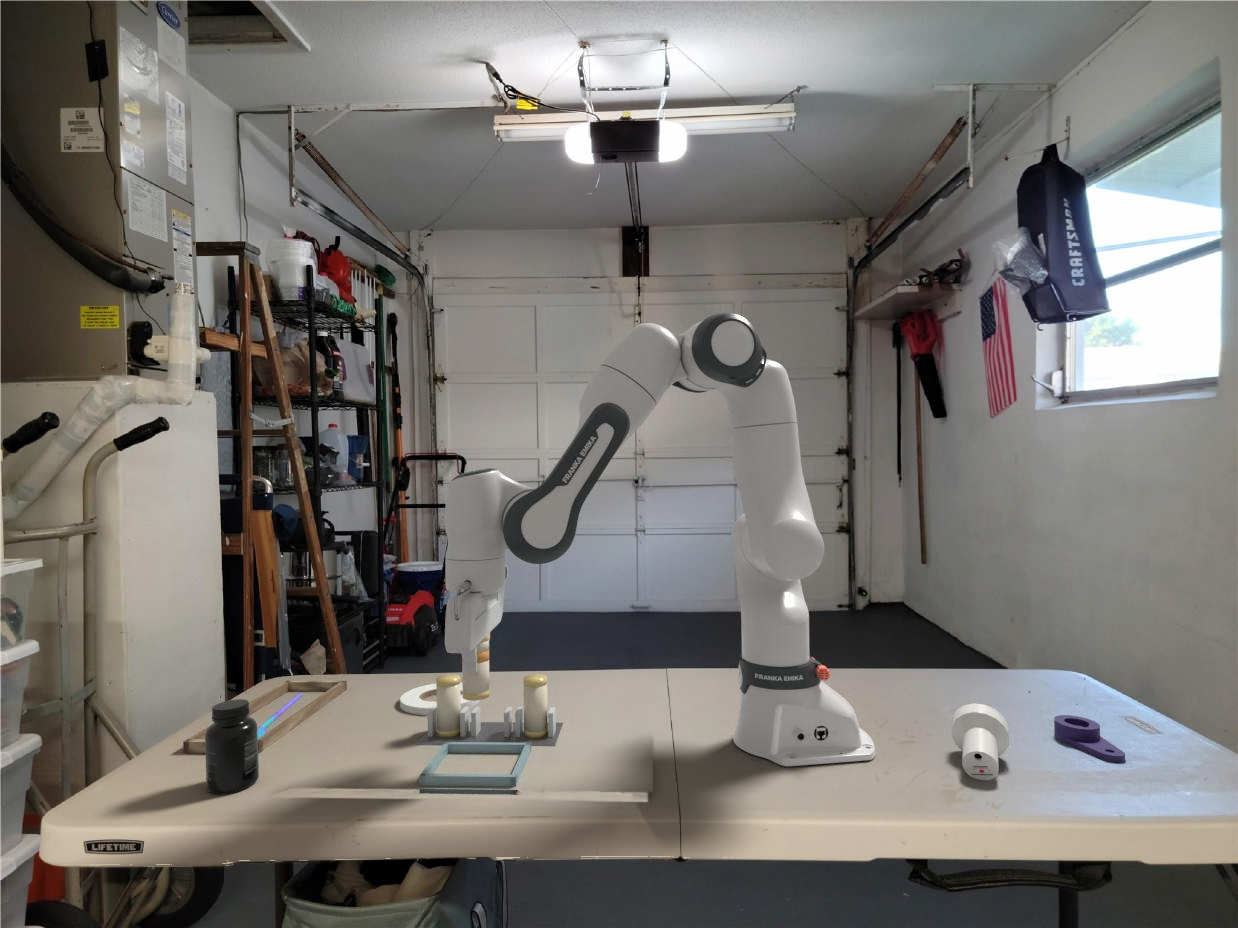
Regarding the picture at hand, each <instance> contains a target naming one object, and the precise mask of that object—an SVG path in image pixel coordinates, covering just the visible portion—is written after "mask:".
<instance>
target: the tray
mask: <svg viewBox="0 0 1238 928" xmlns="http://www.w3.org/2000/svg"><path fill="white" fill-rule="evenodd" d="M531 752H532V746H531V743H503V742H445V743H444V744H443V745H441V747H440V748H439V749H438V751H437V752H436V754H435V755H434V756H433V757H432V758H431V759H430V761H429V762H428V764H427V765H426V767H424V769H423V770H422V771H421V773H420V774H419V776H418V778H419V779H418V780H419V781H418V782H419V783H418V784H419V786H431V787H432V786H433V787H435V786H440V787H441V786H442V787H444V786H445V787H446V786H447V787H455V786H456V787H515V788H516V787H517V785H518V783H519V780H520V778H521V775H522V774H523V771H524V769H525V767H526V765H527V762H528V760H529V757H530V755H531ZM449 753H455V754H456V753H457V754H458V753H460V754H463V753H467V754H473V753H474V754H475V753H476V754H477V753H478V754H520V755H519V758H518V759H517V762H516V764H515V766H514V768H513V770H512V772H511V774H508V773H507V774H506V773H505V774H504V773H502V774H501V773H435V772H436V771H437V770H438V769H439V766H440V765H441V763H443V761H444V760H445V758H446V757H447V755H448V754H449ZM518 791H519V790H518V789H485V788H484V789H477V788H476V789H472V788H466V789H464V788H459V789H457V788H454V789H453V788H419V791H418V792H419V794H436V795H437V794H441V795H444V794H445V795H448V794H449V795H452V794H453V795H511V796H512V795H517V793H518Z"/></svg>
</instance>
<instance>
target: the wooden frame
mask: <svg viewBox="0 0 1238 928" xmlns="http://www.w3.org/2000/svg"><path fill="white" fill-rule="evenodd" d="M347 683H348V682H347V680H285V681H284V682H282V683H280V684H278V685H277V686H276V687H275V686H274V688H272V689H270V690H269V691H267V692H265V693H264V694H262V695H260V696H258V697H256V698H255V699H254V700H251V701H250V702H249V710H250V714H249V715H248V717H250V715H252V714H254V713H256V712H257V711H259V710H260V709H262V708H263V707H265V706H267V705H268V704H270V703H272V702H273V701H274V700H276V699H278V698H279V697H282V695H285V694H286V693H288V692H289V691H291V692H293V691H295V692H296V691H299V692H302V691H304V692H305V691H306V692H309V691H310V692H313V691H314V692H317V691H318V692H324V691H325V692H324V693H322V694H320V695H319V696H318V697H316V698H315V699H313V700H312V701H311V702H310V703H308V704H306V705H305V706H303V707H302V708H300V709H299V710H297V711H296V712H295V713H293V714H292V715H290V716H289V717H287V718H286V719H285V720H283V721H282V722H280V723H279V724H278V725H276V726H274V727H273V728H272V729H270V730H269V731H268V732H267V733H266V734H264V735H263V736H262V737H260V738H259V739H258V754H260V753H261V752H263V751H264V750H266V749H267V748H269V747H270V746H271V745H272V744H274V743H276V742H277V741H278V740H279V739H281V738H282V737H283V736H285V735H286V734H288V733H289V732H291V731H292V730H293V729H295V728H296V727H297V726H299V725H300V724H302V723H303V722H304V721H305V720H307V719H308V718H309V717H311V716H312V715H314V714H315V713H316V712H317V711H319V710H321V709H322V708H323V707H325V706H326V705H327V704H328V703H330V702H331V701H333V700H334V699H335V698H337V697H338V696H340V695H341V694H342V693H344V692H345V691H347V690H348V687H347V686H348V685H347ZM208 727H209V726H207V727H205V728H204V729H202V730H201V731H199V732H197V733H195V734H193V735H191V737H189V738H187V739H185V740H184V741H183V742H182V743H183V745H182V749H183V750H182V752H183V753H191V754H192V753H194V754H195V753H199V754H202V753H204V754H205V733H206V730H207V729H208Z"/></svg>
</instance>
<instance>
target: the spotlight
mask: <svg viewBox="0 0 1238 928" xmlns="http://www.w3.org/2000/svg"><path fill="white" fill-rule="evenodd" d="M951 737H952V740H953V742H954V744H955V745H956V747H958V748H959V749H960V750H961V751H962V758H961V759H962V761H961V762H962V767H963V770H964V772H965V773H966V774H967V775H968V776H969V777H971V778H972V779H975V780H980V781H986V782H987V781H992V780H993V779H995V778H996V777H997V775H998V774H999V757H1000V756H1002V755H1003V754H1005V753H1006V751H1007V750H1008V749H1009V746H1010V730H1009V724H1008V722H1007V720H1006V719H1005V717H1004V716H1003V715H1002V714H1001V713H1000V711H998V710H997V709H995V708H994V707H991V706H989V705H987V704H982V703H976V702H974V703H968V704H963V705H962V706H961V707H959V708H957V709H956V710H955V712H954V714H953V716H952V717H951Z"/></svg>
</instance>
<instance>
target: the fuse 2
mask: <svg viewBox="0 0 1238 928" xmlns="http://www.w3.org/2000/svg"><path fill="white" fill-rule="evenodd" d="M522 679H523V681H522V682H523V721H524V736H526V737H528V738H541V737H544V736H546V735H547V734H548V676H547V675H546V674H540V673H533V674H528V675H525V676H524V677H523V678H522Z"/></svg>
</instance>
